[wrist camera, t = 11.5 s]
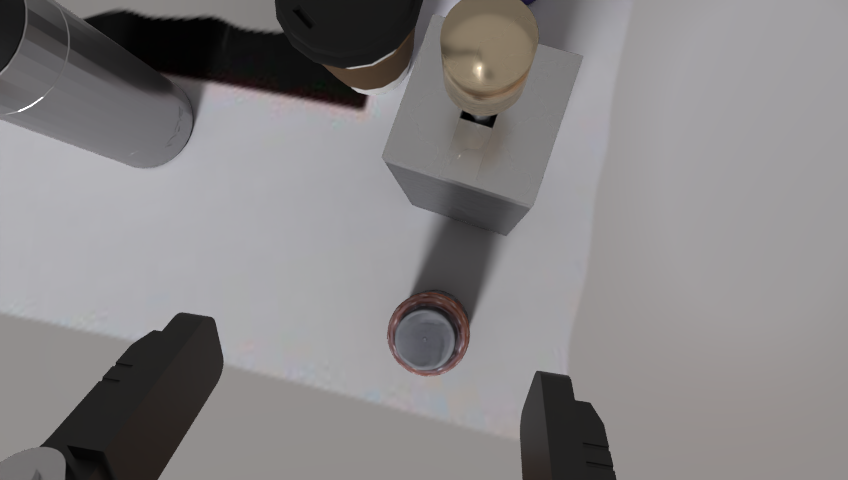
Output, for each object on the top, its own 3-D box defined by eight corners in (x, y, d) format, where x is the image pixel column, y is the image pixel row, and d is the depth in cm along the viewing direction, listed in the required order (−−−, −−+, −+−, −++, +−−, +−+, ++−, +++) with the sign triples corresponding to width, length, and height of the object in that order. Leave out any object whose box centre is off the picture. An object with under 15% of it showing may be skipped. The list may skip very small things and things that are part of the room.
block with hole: (412, 204, 42) (381, 156, 26) (444, 114, 43) (432, 13, 27) (506, 236, 41) (533, 205, 25) (537, 142, 42) (583, 56, 26)
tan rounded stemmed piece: (423, 183, 36) (386, 88, 19) (450, 107, 37) (438, -56, 19) (503, 209, 36) (541, 136, 18) (529, 131, 36) (592, -16, 18)
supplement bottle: (395, 298, 41) (369, 304, 30) (459, 283, 41) (457, 282, 30) (410, 364, 41) (391, 395, 29) (475, 348, 40) (480, 373, 29)
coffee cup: (369, 143, 43) (333, 89, 31) (298, 62, 44) (237, -19, 32) (456, 67, 43) (454, -16, 31) (382, -12, 44) (353, -120, 32)
